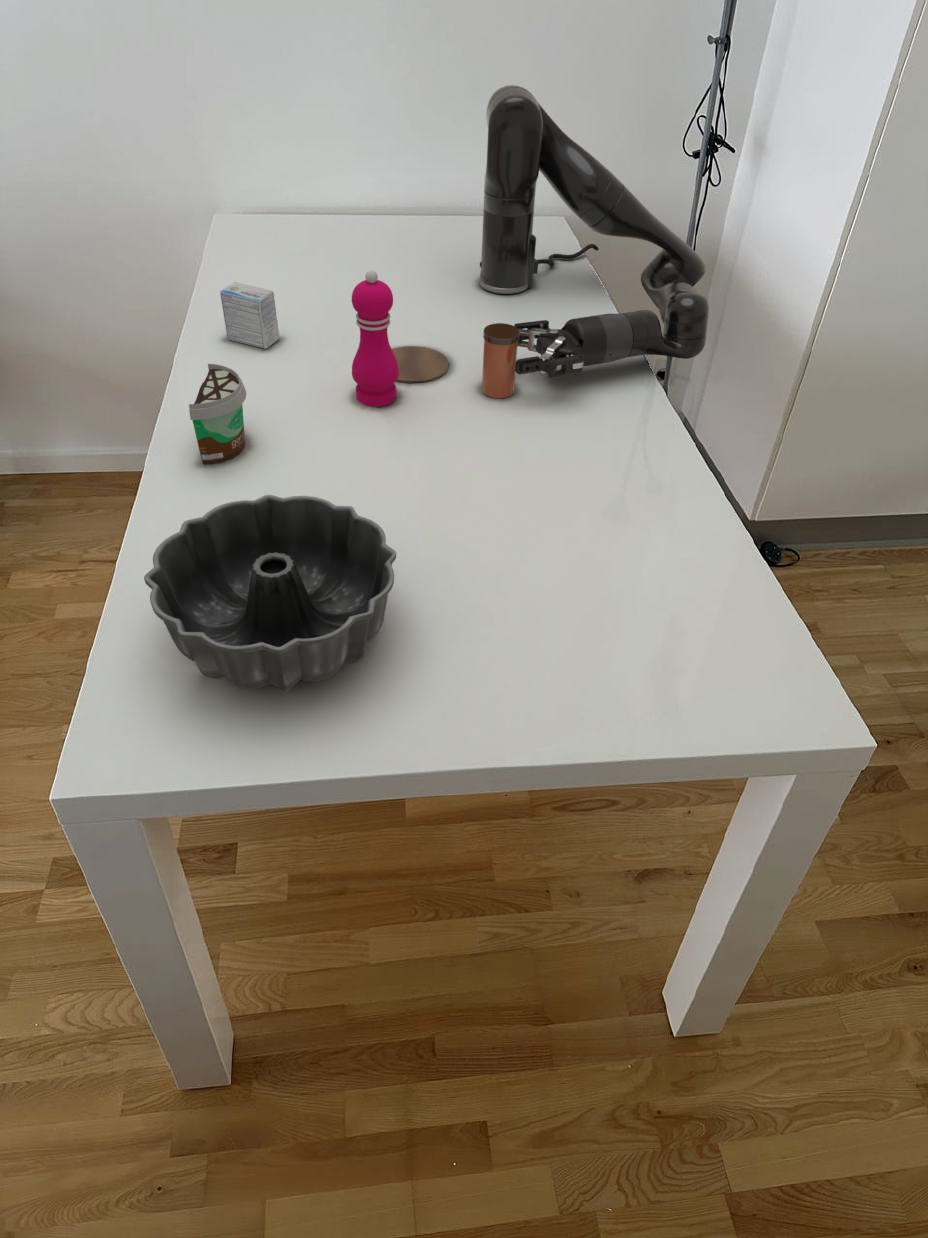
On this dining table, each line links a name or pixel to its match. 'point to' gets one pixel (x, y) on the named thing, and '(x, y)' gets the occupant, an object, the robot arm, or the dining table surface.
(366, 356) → the pepper mill
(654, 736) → the dining table surface
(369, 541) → the bundt pan
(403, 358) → the cork coaster
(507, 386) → the spice jar
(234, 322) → the medicine box
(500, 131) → the robot arm
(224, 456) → the food container
